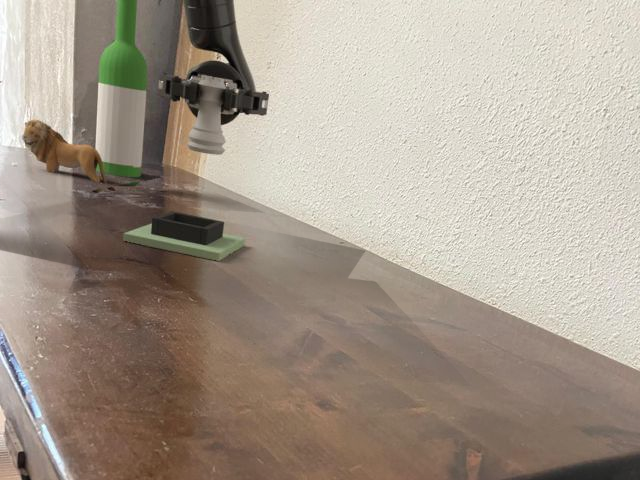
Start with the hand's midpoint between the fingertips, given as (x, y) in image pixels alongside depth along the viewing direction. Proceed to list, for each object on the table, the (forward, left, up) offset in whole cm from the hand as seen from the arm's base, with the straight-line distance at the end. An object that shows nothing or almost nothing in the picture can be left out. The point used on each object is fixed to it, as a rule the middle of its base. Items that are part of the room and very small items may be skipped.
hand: (210, 97), depth 82 cm
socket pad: (-3, +6, -18) cm, 19 cm away
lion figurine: (-31, +29, -18) cm, 46 cm away
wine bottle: (-28, +42, -18) cm, 54 cm away
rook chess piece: (-1, +3, -6) cm, 7 cm away
